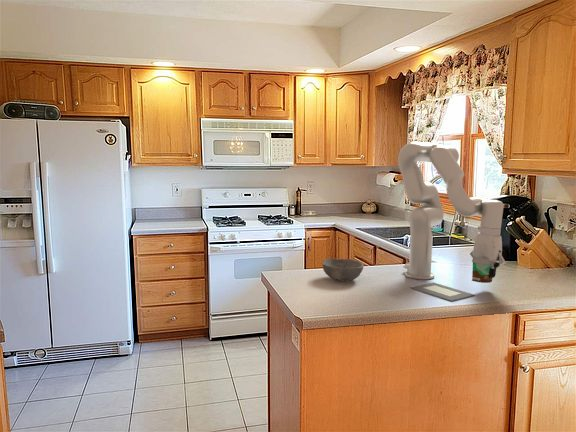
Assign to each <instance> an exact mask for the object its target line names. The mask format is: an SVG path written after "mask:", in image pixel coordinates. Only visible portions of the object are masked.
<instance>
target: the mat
mask: <svg viewBox="0 0 576 432" xmlns="http://www.w3.org/2000/svg"><path fill="white" fill-rule="evenodd" d="M410 289H412V290H415V291H417V292H420V293H424V294H427V295H429V296H432V297H436V298H439V299H442V300H443V301H444V300H445V301H449V302H451V303H452V302H456V301H460V300H464V299H468V298H471V297H475V294H474V293H470V292H467V291H465V290H464V291H463V290H460V289H456V288H453V287H449V286H447V285H443V284H440V283H436V282H429V283H424V284H419V285H415V286H410Z"/></svg>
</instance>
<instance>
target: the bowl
mask: <svg viewBox="0 0 576 432" xmlns="http://www.w3.org/2000/svg"><path fill="white" fill-rule="evenodd" d="M364 266H365V265H364V263H363V262H361V261H359V260H355V259H351V258H325V259H324V260H323V261H322V269H323V272H324V273H325V274H326V275H327V276H328V277H329V278H330V279H333V280H336V281H337V280H338V281H343V282H351V281H354V280H355V279H357V278H358V277H360V275H361V273H362V272H363V270H364Z"/></svg>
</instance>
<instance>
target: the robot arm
mask: <svg viewBox="0 0 576 432" xmlns="http://www.w3.org/2000/svg"><path fill="white" fill-rule="evenodd" d="M459 157H460V155H459V152H458V150H457V149H456V148H455V147H453V146H451V145H444V144H438V143H433V142H432V143H431V142H420V141H411V142H407V143H406V144H405V145H403V146H402V147H401V149H400V150H399V153H398V156H397V163H398V164H397V165H398V168H399V170H400V175H401V177H402V182H403V186H404V189H405V190H404V191H405V194H406V198H407V200H408V202H409V203H411V204H413V205H419V204H420V205H421V206H418V207H415V208H413V209H412V210H411V212H410V213H409V219H408V221H409V222H408V223H409V228H410V229H409V230H410V235H409V236H410V237H409V238H410V239H409V241H410V243H409V245H410V246H409V260H408V261H409V262H408V263H405V264H404V265H403V268H404V269H405V270H406V271H405V272H404V274H405V275H404V276H406V277H407V278H410V279H414V280H421V281H422V280H423V281H425V280H427V281H428V280H432V279H435V274H434V273H433V272H432V261H433V260H432V257H433V256H432V255H433V232H432V227H435V226H438V225H440V224H441V223H442V222H443V219H444V210H443V205H442V203H441V202H442V201H441V199H440V198H441V197H440V195H439V191H438V189H437V187H436V186H435V185H434V183H431V182H427V181H426V182H425V180H424V177H423V174H422V170H421V168H420V167H419V165H418V164H417V163H418V162H426V163H431V164H432V166H433V167H434V168H435V170H436V171H437V173H438V174H439V175H440V177H441V179H442V180H443V182H444V183H445V190H446V193H447V197H448V200H449V202H450V203H451V205H452V207H453V208H454V209H455V211H456V212H457V213H458V214H459V215H460V216H462V217H465V218H470V217H478V216H479V217H480V216H481V217H480V225H479V226H477V230H479V232H477V234H476V237H475V240H474V244H473V249H472V251H471V252H470V253H469V255H470V256H471V258H472V259H473V257H477V258H484V259H488V260H489V261H491V262H492V264H491V268H490V270H489V278H492V279H494V278H496V277H495V276H496V274H497V269H498V268H499V267H500V266H502V265H504V264H505V263H506V261H505V259H504V257H503V255H502V254H503V241H502V240H503V239H502V235H501V229H502V222H503V214H504V203H503V202H502V201H500V200H497V199H486V198H483V197H478V196H477V197H470V196H469V195H468V193H467V192H466V190H465V188H464V186H463V179H464V177H465V172H464V170H463V169H462V167H461V166H460V164H459V163H458V161H459ZM494 262H496V264H494Z"/></svg>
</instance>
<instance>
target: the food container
mask: <svg viewBox="0 0 576 432" xmlns="http://www.w3.org/2000/svg"><path fill="white" fill-rule="evenodd" d="M471 260H472V261H471V262H472V277H471V278H472V279H471V281H472V282H476V283H482V284H483V283H484V284H485V283H487V284H488V283H489V284H490V283H492V282H493V278H489V270H490V268H491V264H492V262H491V261H489V260H488V259H484V258H477V257H473V258H472V259H471ZM494 264H496V262H494Z"/></svg>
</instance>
